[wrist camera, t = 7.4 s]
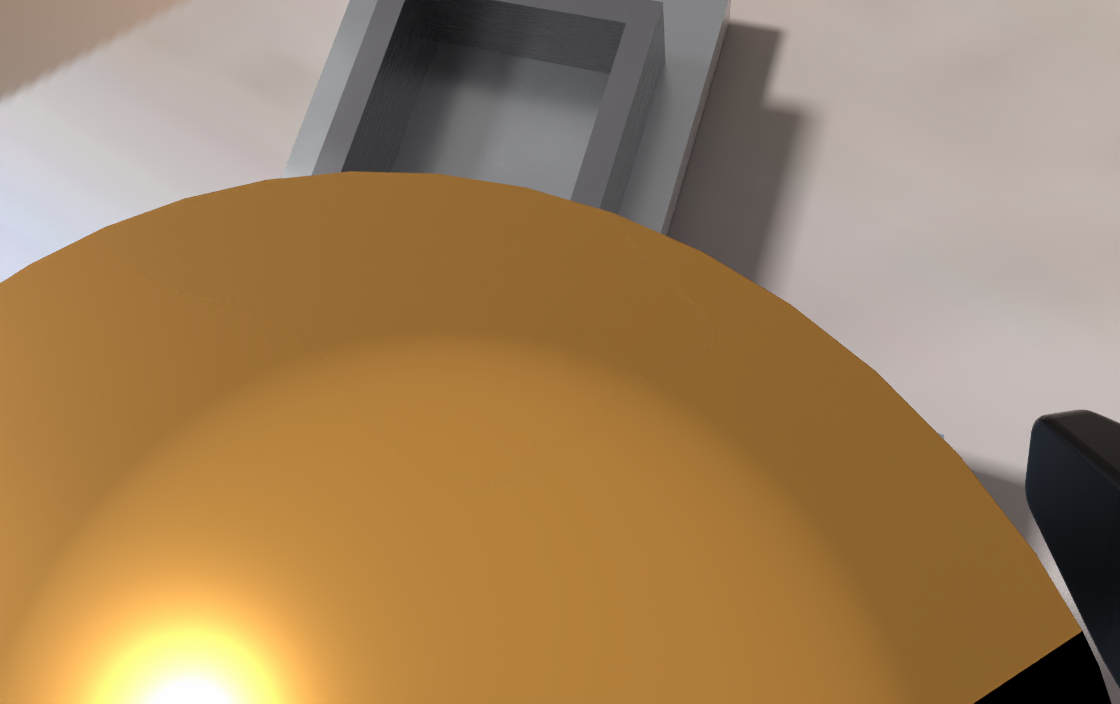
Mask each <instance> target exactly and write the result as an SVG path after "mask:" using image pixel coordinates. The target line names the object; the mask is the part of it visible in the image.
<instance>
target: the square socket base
mask: <svg viewBox="0 0 1120 704" xmlns="http://www.w3.org/2000/svg"><path fill="white" fill-rule="evenodd" d="M730 4H731V0H350V2H349V4H348V7H347V9H346V12H345V15H344V17H343V20H342V22H341V25H340V28H339V30H338V33H337V35H336V38H335V40H334V43H333V46H332V48H331V51H330V53H329V56H328V59H327V61H326V64H325V66H324V69H323V72H322V74H321V77H320V79H319V82H318V84H317V87H316V90H315V92H314V95H313V97H312V100H311V103H310V105H309V108H308V110H307V113H306V115H305V118H304V121H303V123H302V126H301V128H300V131H299V134H298V136H297V139H296V141H295V144H294V147H293V149H292V152H291V154H290V157H289V159H288V162H287V165H286V167H285V170H284V172H283V175H282V178H291V177H301V176H311V175H320V174H330V173H340V172H350V171H355V172H394V173H433V174H443V175H450V176H456V177H462V178H469V179H475V180H482V181H488V182H495V183H501V184H508V185H514V186H520V187H526V188H530V189H533V190H536V191H540V192H543V193H547V194H550V195H554V196H557V197H560V198H564V199H567V200H571V201H574V202H578V203H581V204H585V205H588V206H591V207H595V208H598V209H602V210H605V211H609V212H612V213H615V214H617V215H619V216H622V217H624V218H626V219H629V220H631V221H633V222H636V223H638V224H640V225H642V226H645V227H647V228H649V229H652V230H654V231H656V232H658V233H661V234H663V235H665V236H667V235H668V231H669V228H670V224H671V221H672V217H673V214H674V210H675V207H676V203H677V200H678V197H679V193H680V190H681V186H682V183H683V179H684V176H685V172H686V169H687V166H688V162H689V159H690V155H691V152H692V148H693V145H694V141H695V138H696V135H697V131H698V128H699V124H700V121H701V117H702V114H703V110H704V107H705V103H706V100H707V97H708V93H709V90H710V86H711V83H712V79H713V76H714V72H715V69H716V66H717V62H718V59H719V55H720V52H721V48H722V45H723V41H724V38H725V34H726V31H727V28H728V24H729V16H730Z"/></svg>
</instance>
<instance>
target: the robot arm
mask: <svg viewBox="0 0 1120 704" xmlns="http://www.w3.org/2000/svg"><path fill="white" fill-rule="evenodd" d="M1025 491H1026V497H1027V502H1028V505H1029V508H1030V510H1031V512H1032V515H1033V517H1034V519H1035V521H1036V523H1037V525H1038V527H1039V529H1040V531H1041V533H1042V535H1043V538H1044V540H1045V542H1046V544H1047V546H1048V548H1049V550H1050V552H1051V554H1052V556H1053V558H1054V560H1055V563H1056V565H1057V567H1058V569H1059V571H1060V573H1061V575H1062V577H1063V579H1064V581H1065V583H1066V585H1067V588H1068V590H1069V592H1070V594H1071V596H1072V598H1073V600H1074V602H1075V604H1076V606H1077V608H1078V610H1079V613H1080V615H1081V617H1082V619H1083V621H1084V623H1085V625H1086V627H1087V629H1088V631H1089V633H1090V635H1091V637H1092V639H1093V641H1094V643H1095V645H1096V647H1097V649H1098V651H1099V653H1100V655H1101V657H1102V659H1103V661H1104V662H1105V664H1106V666H1107V668H1108V669H1109V671H1110V673H1111V674H1112V676H1113V678H1114V679H1115V681H1116V683H1117V685H1118V686H1119V688H1120V423H1118V422H1116V421H1113V420H1111V419H1109V418H1106V417H1104V416H1102V415H1099V414H1097V413H1094V412H1092V411H1089V410H1074V411H1067V412H1061V413H1054V414H1048V415H1043V416H1041V417H1039V418H1038V419H1037V420H1036V421H1035V423H1034V425H1033V428H1032V431H1031V439H1030V447H1029V456H1028V464H1027V472H1026V480H1025Z"/></svg>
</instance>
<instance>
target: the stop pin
mask: <svg viewBox="0 0 1120 704" xmlns="http://www.w3.org/2000/svg"><path fill="white" fill-rule="evenodd" d="M0 704H1111V701H1110V698H1109V695H1108V692H1107V689H1106V686H1105V683H1104V680H1103V677H1102V673H1101V670H1100V667H1099V665H1098V663H1097V661H1096V659H1095V656H1094V654H1093V652H1092V650H1091V648H1090V646H1089V644H1088V642H1087V640H1086V638H1085V635H1084V633H1083V631H1082V630H1081V628H1080V626H1079V625H1078V623H1077V621H1076V620H1075V618H1074V616H1073V615H1072V613H1071V611H1070V610H1069V608H1068V606H1067V605H1066V603H1065V601H1064V600H1063V598H1062V596H1061V595H1060V593H1059V591H1058V590H1057V588H1056V586H1055V585H1054V583H1053V582H1052V580H1051V578H1050V577H1049V575H1048V573H1047V572H1046V570H1045V568H1044V567H1043V565H1042V563H1041V562H1040V560H1039V558H1038V557H1037V555H1036V553H1035V552H1034V551H1033V549H1032V548H1031V547H1030V546H1029V544H1028V543H1027V542H1026V540H1025V539H1024V538H1023V537H1022V535H1021V534H1020V533H1019V531H1018V530H1017V529H1016V528H1015V526H1014V525H1013V524H1012V522H1011V521H1010V520H1009V519H1008V517H1007V516H1006V515H1005V513H1004V512H1003V511H1002V510H1001V508H1000V507H999V506H998V504H997V503H996V502H995V501H994V499H993V498H992V497H991V495H990V494H989V493H988V492H987V490H986V489H985V488H984V487H983V485H982V484H981V483H980V481H979V480H978V479H977V478H976V476H975V475H974V474H973V472H972V471H971V470H970V469H969V467H968V466H967V465H966V463H965V462H964V461H963V460H962V458H961V457H960V456H959V454H958V453H957V452H956V451H955V450H954V449H953V448H952V447H951V446H950V445H949V444H948V443H947V442H946V441H945V440H944V439H943V438H942V437H941V436H940V435H939V434H938V433H937V432H936V431H935V430H934V429H933V428H932V427H931V426H930V425H929V424H928V423H927V422H926V421H925V420H924V419H923V418H922V417H921V416H920V415H919V414H918V413H917V412H916V411H915V410H914V409H913V408H912V407H911V406H910V405H909V404H908V403H907V402H906V401H905V400H904V399H903V398H902V397H901V396H900V395H899V394H898V393H897V392H896V391H895V390H894V389H893V388H892V387H891V386H890V385H889V384H888V383H887V382H886V381H885V380H884V379H883V378H882V377H881V376H880V375H879V374H878V373H877V372H876V371H875V370H873V369H872V368H871V367H870V366H868V365H867V364H866V363H865V362H863V361H862V360H861V359H859V358H858V357H857V356H856V355H854V354H853V353H852V352H851V351H849V350H848V349H847V348H845V347H844V346H843V345H842V344H840V343H839V342H838V341H836V340H835V339H834V338H833V337H831V336H830V335H829V334H828V333H826V332H825V331H824V330H822V329H821V328H820V327H819V326H817V325H816V324H815V323H814V322H812V321H811V320H810V319H808V318H807V317H806V316H805V315H803V314H802V313H801V312H799V311H798V310H797V309H796V308H794V307H793V306H792V305H791V304H789V303H787V302H786V301H784V300H782V299H781V298H779V297H777V296H776V295H774V294H772V293H771V292H769V291H767V290H766V289H764V288H762V287H761V286H759V285H757V284H756V283H754V282H752V281H751V280H749V279H747V278H746V277H744V276H742V275H740V274H739V273H737V272H735V271H734V270H732V269H730V268H729V267H727V266H725V265H724V264H722V263H720V262H719V261H717V260H715V259H714V258H712V257H710V256H709V255H707V254H705V253H704V252H702V251H700V250H697V249H695V248H693V247H690V246H688V245H686V244H684V243H681V242H679V241H677V240H674V239H672V238H670V237H668V236H665V235H663V234H661V233H658V232H656V231H654V230H652V229H649V228H647V227H645V226H642V225H640V224H638V223H636V222H633V221H631V220H629V219H626V218H624V217H622V216H619V215H617V214H615V213H612V212H609V211H605V210H602V209H598V208H595V207H591V206H588V205H585V204H581V203H578V202H574V201H571V200H567V199H564V198H560V197H557V196H554V195H550V194H547V193H543V192H540V191H536V190H533V189H530V188H526V187H520V186H514V185H508V184H501V183H495V182H488V181H482V180H475V179H469V178H462V177H456V176H450V175H443V174H433V173H394V172H355V171H350V172H340V173H330V174H320V175H311V176H301V177H291V178H281V179H271V180H264V181H260V182H255V183H251V184H247V185H242V186H238V187H234V188H229V189H225V190H220V191H216V192H212V193H207V194H203V195H199V196H194V197H190V198H185V199H182V200H179V201H177V202H174V203H171V204H168V205H166V206H163V207H160V208H157V209H154V210H152V211H149V212H146V213H143V214H141V215H138V216H135V217H132V218H129V219H127V220H124V221H121V222H118V223H115V224H113V225H110V226H107V227H105V228H102V229H100V230H98V231H96V232H94V233H92V234H90V235H88V236H86V237H84V238H82V239H80V240H78V241H76V242H74V243H72V244H70V245H68V246H66V247H64V248H62V249H60V250H58V251H56V252H54V253H52V254H50V255H48V256H46V257H44V258H42V259H40V260H38V261H36V262H34V263H32V264H30V265H28V266H27V267H25V268H23V269H22V270H20V271H19V272H17V273H16V274H14V275H13V276H11V277H10V278H8V279H6V280H5V281H3V282H2V283H0Z"/></svg>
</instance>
